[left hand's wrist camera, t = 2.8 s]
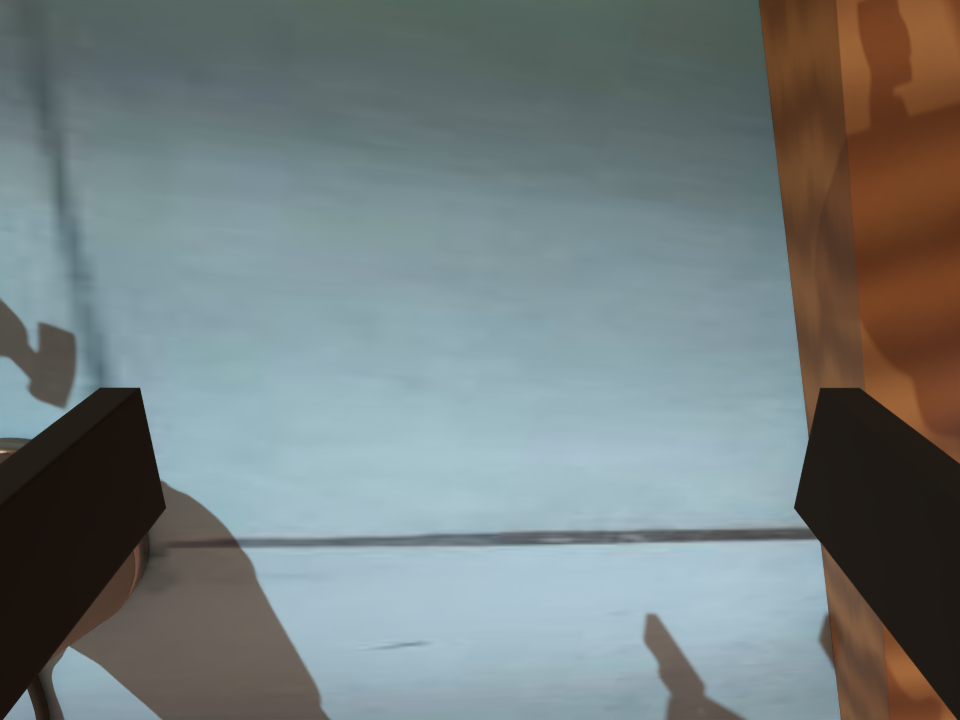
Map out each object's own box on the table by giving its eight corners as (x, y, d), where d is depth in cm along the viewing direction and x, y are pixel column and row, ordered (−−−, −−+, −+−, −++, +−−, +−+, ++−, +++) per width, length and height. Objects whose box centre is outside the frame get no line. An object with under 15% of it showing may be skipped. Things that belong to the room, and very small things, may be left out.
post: (910, 705, 53) (978, 800, 45) (840, 719, 53) (897, 815, 46) (841, -511, 27) (973, -734, 20) (706, -458, 27) (787, -656, 20)
